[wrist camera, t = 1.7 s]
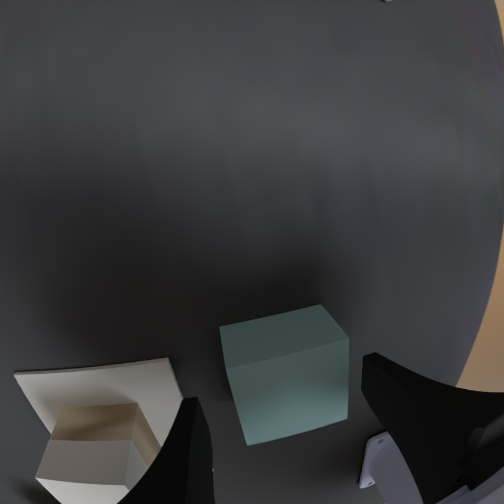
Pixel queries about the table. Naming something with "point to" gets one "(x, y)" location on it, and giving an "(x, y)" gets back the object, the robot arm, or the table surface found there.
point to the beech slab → (108, 427)
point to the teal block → (287, 372)
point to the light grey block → (90, 470)
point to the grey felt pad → (107, 391)
